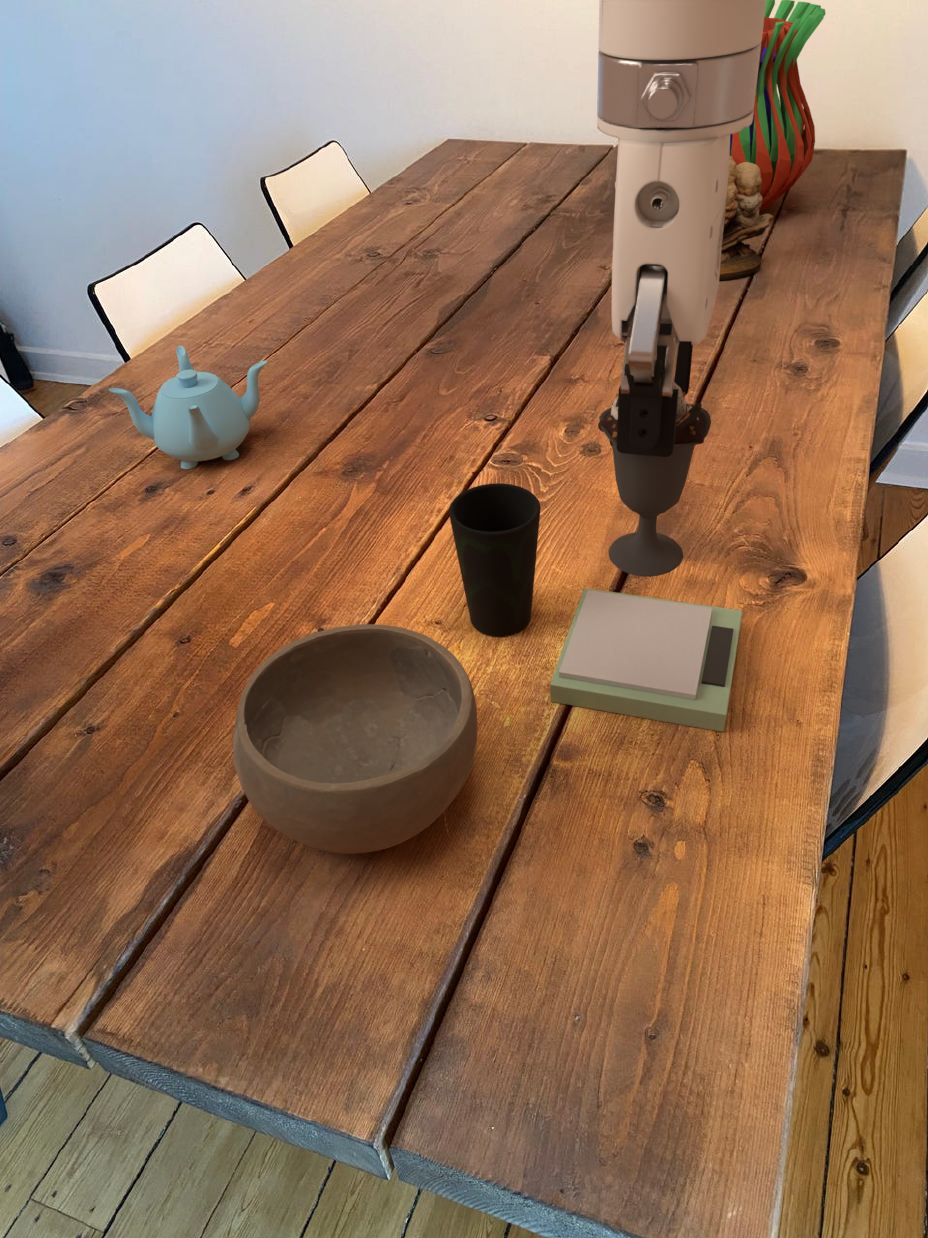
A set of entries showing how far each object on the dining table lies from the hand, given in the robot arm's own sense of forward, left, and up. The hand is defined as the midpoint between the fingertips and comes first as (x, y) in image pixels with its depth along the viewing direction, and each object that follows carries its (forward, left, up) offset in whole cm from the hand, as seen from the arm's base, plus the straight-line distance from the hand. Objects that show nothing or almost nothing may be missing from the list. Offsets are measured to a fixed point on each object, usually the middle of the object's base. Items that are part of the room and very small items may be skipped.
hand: (654, 419), depth 57 cm
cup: (+14, -11, -28) cm, 33 cm away
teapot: (+57, -33, -28) cm, 72 cm away
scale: (0, -8, -28) cm, 29 cm away
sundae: (0, 0, -10) cm, 10 cm away
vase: (+8, -129, -28) cm, 132 cm away
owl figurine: (+6, -100, -28) cm, 104 cm away
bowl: (+18, +11, -28) cm, 35 cm away
